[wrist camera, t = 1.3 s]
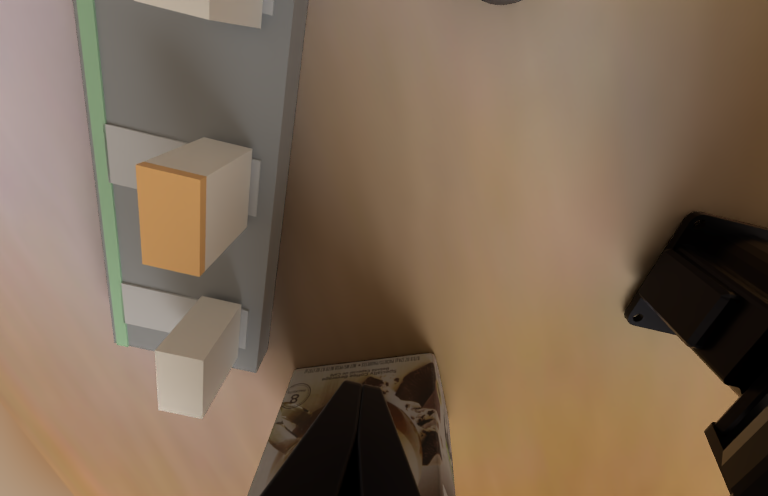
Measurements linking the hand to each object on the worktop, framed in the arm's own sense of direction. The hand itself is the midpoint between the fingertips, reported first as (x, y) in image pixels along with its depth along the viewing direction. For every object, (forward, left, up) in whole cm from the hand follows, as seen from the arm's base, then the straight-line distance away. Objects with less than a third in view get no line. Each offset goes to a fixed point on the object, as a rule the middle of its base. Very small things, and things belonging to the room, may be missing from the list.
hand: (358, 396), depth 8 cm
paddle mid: (+7, 0, -10) cm, 12 cm away
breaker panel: (+9, 0, -12) cm, 15 cm away
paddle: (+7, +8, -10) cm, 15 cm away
